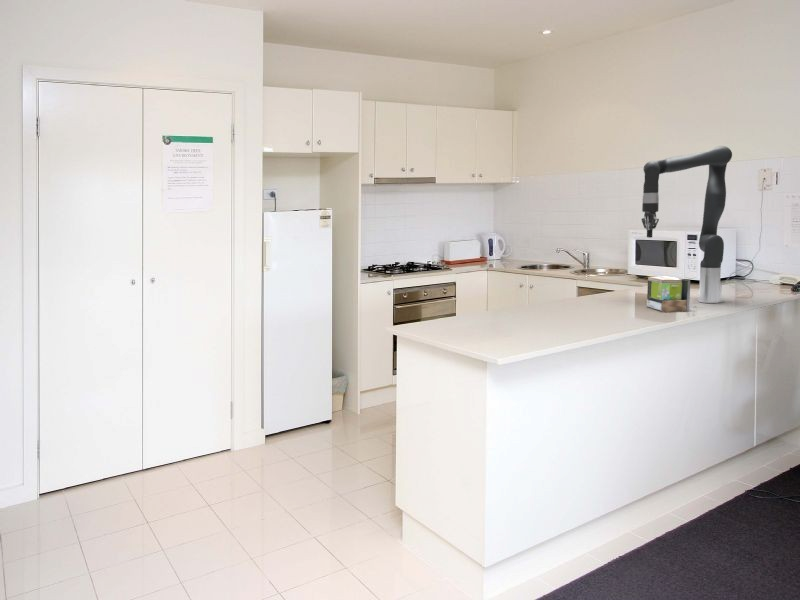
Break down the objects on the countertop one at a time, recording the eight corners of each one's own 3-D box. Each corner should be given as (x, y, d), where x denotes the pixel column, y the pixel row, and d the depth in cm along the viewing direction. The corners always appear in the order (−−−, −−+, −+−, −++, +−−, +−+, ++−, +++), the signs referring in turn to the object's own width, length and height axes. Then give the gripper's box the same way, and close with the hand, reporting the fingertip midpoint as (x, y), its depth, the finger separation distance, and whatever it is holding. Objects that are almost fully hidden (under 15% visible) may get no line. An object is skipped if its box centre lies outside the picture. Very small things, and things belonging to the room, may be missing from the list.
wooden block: (685, 310, 320) (686, 299, 319) (687, 311, 318) (687, 300, 317) (661, 311, 318) (661, 300, 317) (663, 312, 316) (663, 301, 316)
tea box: (681, 310, 320) (682, 278, 317) (660, 311, 319) (661, 279, 317) (666, 306, 334) (667, 275, 332) (646, 306, 333) (647, 276, 331)
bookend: (673, 306, 331) (674, 277, 329) (689, 310, 318) (690, 280, 316) (671, 307, 331) (672, 277, 329) (686, 311, 318) (687, 280, 316)
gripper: (664, 202, 338) (663, 237, 341) (650, 202, 351) (649, 236, 354) (650, 202, 337) (649, 238, 339) (636, 202, 350) (635, 237, 352)
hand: (649, 237), depth 347 cm, fingers closed
